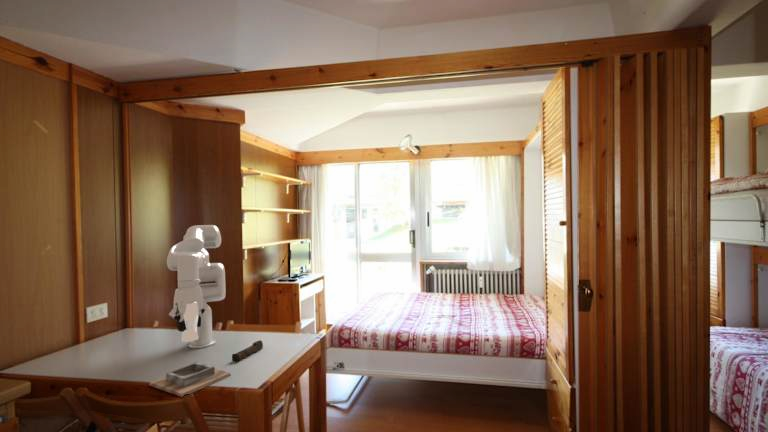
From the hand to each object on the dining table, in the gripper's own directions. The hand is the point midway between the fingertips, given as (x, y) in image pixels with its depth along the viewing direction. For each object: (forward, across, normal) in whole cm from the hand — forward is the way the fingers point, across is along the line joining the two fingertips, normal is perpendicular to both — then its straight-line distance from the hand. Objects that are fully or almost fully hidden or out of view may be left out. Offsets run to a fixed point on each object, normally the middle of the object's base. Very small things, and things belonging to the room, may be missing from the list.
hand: (189, 328), depth 143 cm
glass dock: (+21, 0, 0) cm, 21 cm away
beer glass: (+5, 0, 0) cm, 5 cm away
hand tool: (+21, -30, -2) cm, 37 cm away
